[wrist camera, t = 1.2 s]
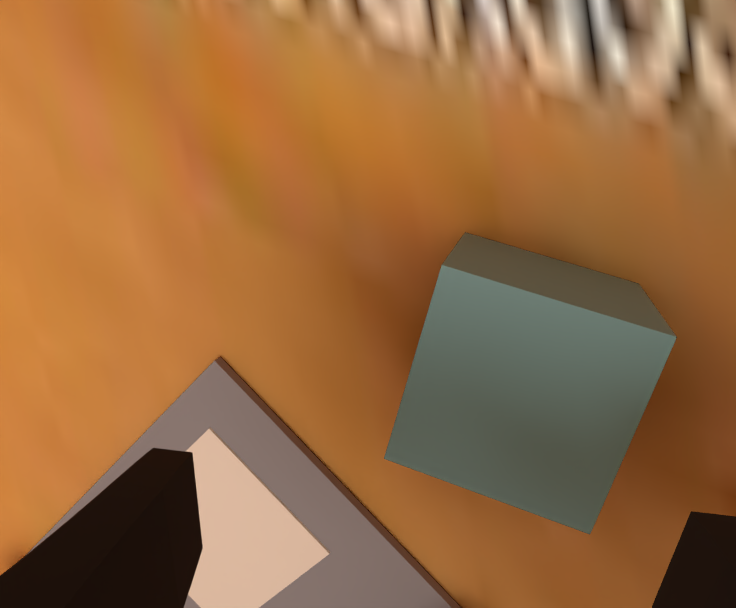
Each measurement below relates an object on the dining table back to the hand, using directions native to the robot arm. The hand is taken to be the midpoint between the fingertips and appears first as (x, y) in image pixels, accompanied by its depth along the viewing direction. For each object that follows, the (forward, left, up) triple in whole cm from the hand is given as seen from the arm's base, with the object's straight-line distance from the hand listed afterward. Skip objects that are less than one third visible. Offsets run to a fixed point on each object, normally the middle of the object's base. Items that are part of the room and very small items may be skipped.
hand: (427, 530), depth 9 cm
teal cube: (-1, -1, -10) cm, 10 cm away
